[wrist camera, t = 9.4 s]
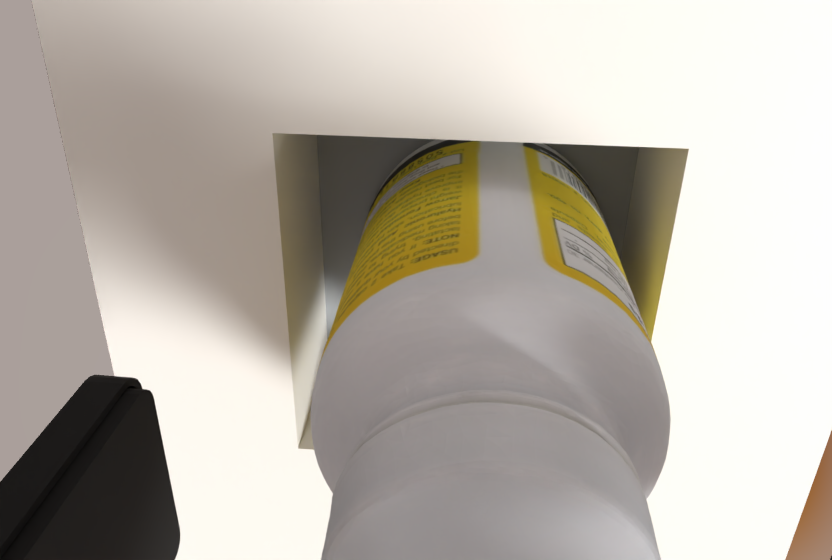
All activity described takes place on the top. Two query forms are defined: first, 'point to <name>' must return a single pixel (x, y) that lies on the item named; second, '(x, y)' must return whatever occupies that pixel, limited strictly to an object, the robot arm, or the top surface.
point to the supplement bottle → (488, 371)
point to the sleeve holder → (377, 157)
